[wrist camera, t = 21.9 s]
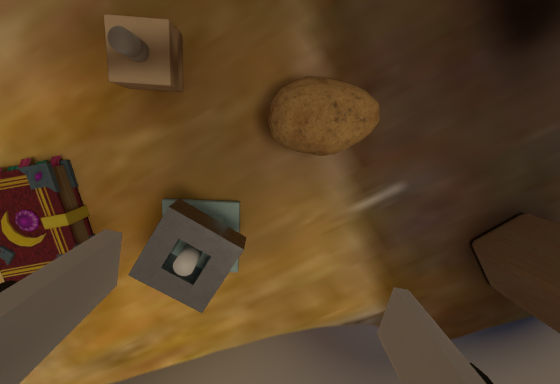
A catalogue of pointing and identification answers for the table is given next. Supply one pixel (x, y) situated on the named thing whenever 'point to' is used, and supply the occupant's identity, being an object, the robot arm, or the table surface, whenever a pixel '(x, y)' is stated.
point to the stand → (144, 53)
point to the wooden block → (525, 264)
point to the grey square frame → (200, 234)
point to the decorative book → (39, 216)
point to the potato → (321, 115)
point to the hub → (216, 209)
